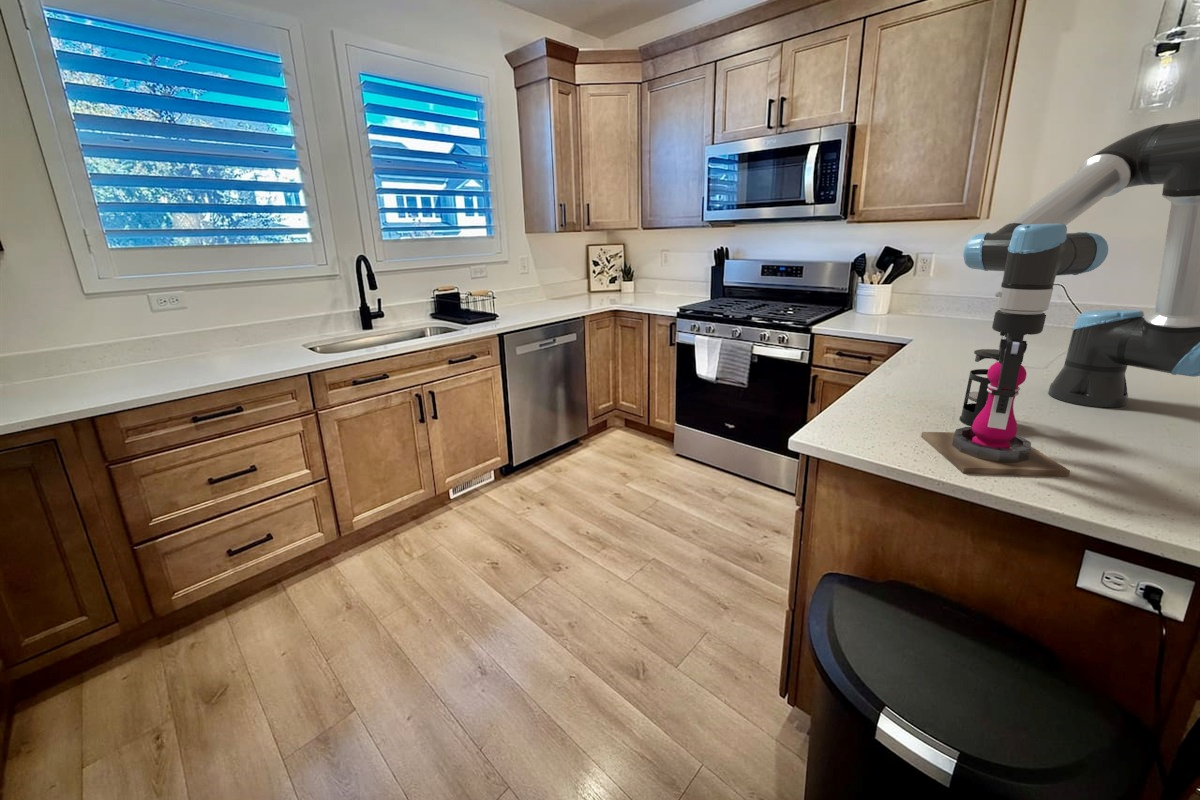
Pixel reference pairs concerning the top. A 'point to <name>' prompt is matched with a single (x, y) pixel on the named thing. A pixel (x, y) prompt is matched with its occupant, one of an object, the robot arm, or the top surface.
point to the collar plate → (968, 464)
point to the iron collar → (991, 448)
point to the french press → (982, 396)
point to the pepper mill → (980, 424)
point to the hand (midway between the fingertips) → (996, 417)
